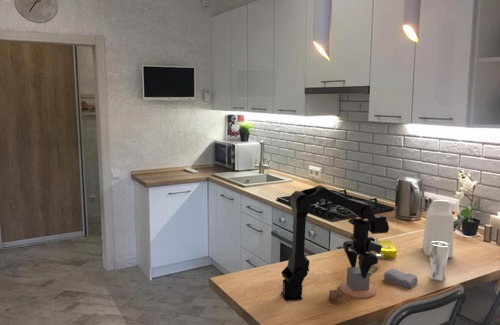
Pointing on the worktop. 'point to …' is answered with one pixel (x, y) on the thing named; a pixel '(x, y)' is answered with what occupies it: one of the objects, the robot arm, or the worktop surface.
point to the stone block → (400, 278)
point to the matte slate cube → (357, 279)
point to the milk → (438, 226)
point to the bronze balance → (378, 255)
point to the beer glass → (438, 260)
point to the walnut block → (335, 296)
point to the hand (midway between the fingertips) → (358, 273)
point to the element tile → (387, 248)
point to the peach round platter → (357, 294)
